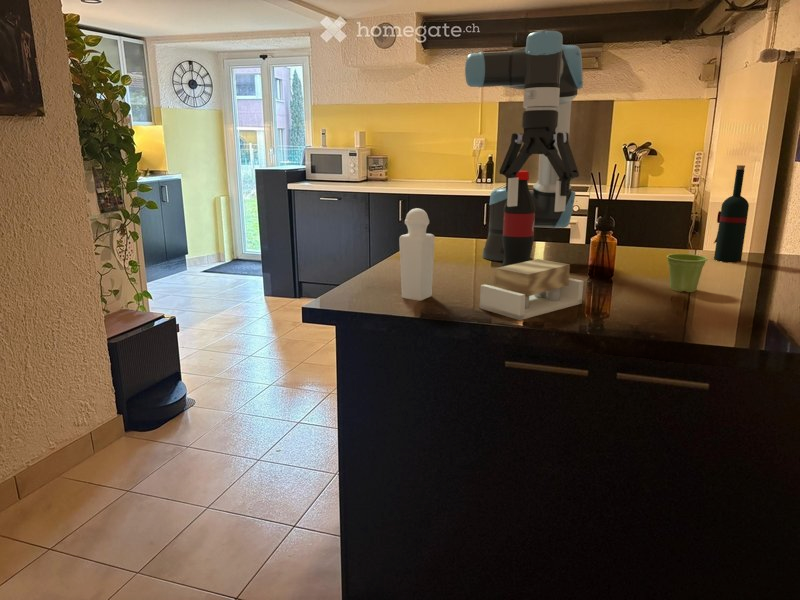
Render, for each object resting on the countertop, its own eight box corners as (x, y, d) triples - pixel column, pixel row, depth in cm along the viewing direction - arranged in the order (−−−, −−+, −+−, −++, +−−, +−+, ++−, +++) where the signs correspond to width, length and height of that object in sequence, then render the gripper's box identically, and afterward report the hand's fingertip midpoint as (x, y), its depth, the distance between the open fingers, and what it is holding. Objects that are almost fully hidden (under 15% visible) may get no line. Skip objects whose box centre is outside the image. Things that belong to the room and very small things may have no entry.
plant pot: (686, 296, 145) (691, 261, 143) (655, 288, 153) (658, 255, 151) (711, 291, 150) (715, 258, 147) (679, 284, 158) (683, 252, 155)
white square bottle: (421, 301, 141) (422, 210, 135) (398, 298, 144) (398, 208, 139) (434, 296, 146) (435, 207, 141) (412, 292, 150) (412, 206, 144)
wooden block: (527, 296, 128) (528, 274, 126) (495, 289, 134) (495, 268, 133) (568, 285, 138) (569, 264, 136) (536, 278, 144) (537, 258, 143)
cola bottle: (533, 279, 164) (539, 170, 156) (529, 286, 156) (536, 171, 148) (503, 277, 166) (507, 169, 158) (498, 284, 158) (502, 171, 151)
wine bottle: (724, 256, 196) (737, 164, 188) (747, 262, 186) (761, 165, 178) (703, 257, 194) (715, 164, 186) (725, 263, 184) (739, 166, 177)
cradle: (541, 293, 148) (542, 272, 147) (581, 303, 139) (583, 281, 137) (479, 308, 135) (480, 285, 134) (519, 320, 126) (520, 295, 125)
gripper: (486, 111, 133) (483, 205, 139) (578, 106, 114) (571, 215, 120) (508, 112, 138) (505, 203, 143) (601, 107, 119) (592, 212, 124)
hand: (535, 208), depth 132 cm, fingers open, 13 cm apart
